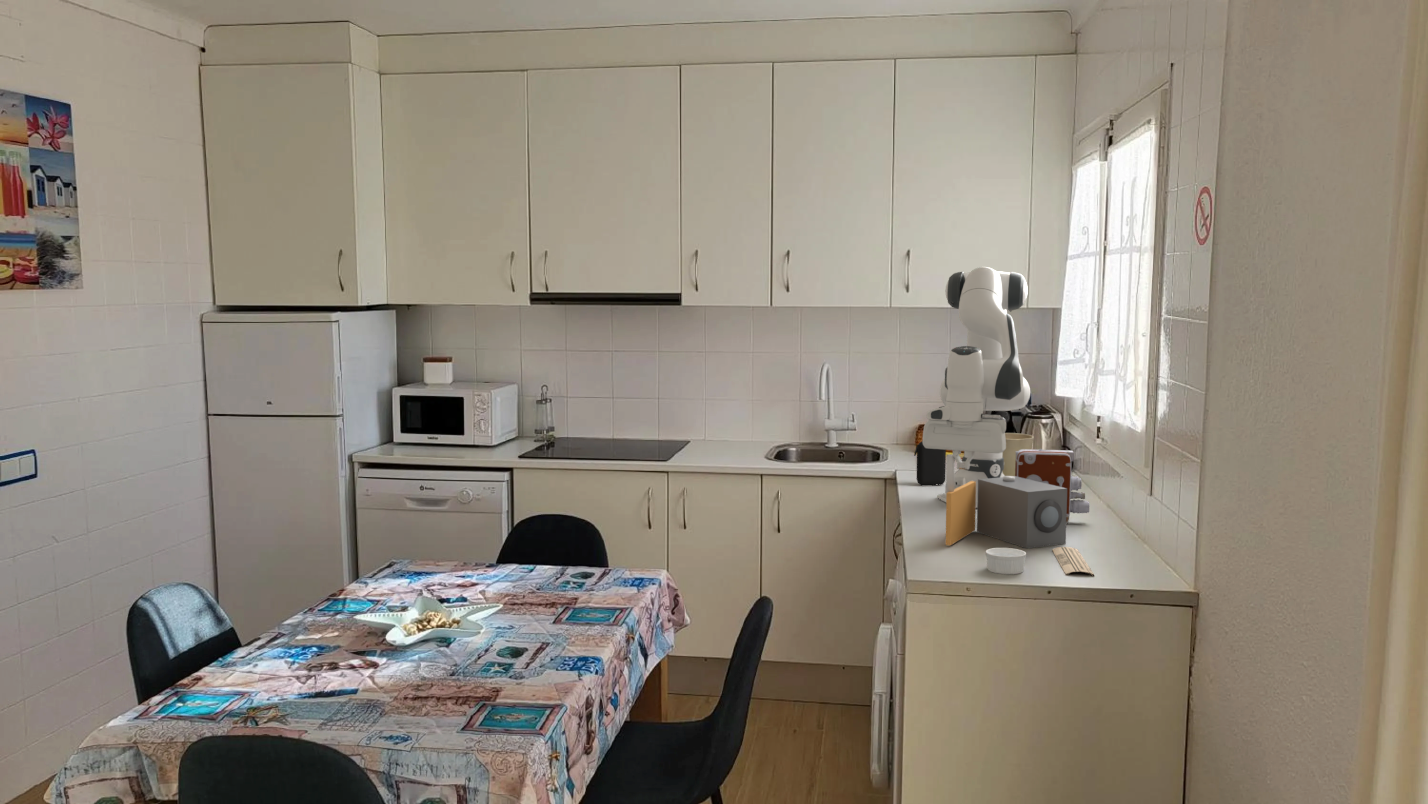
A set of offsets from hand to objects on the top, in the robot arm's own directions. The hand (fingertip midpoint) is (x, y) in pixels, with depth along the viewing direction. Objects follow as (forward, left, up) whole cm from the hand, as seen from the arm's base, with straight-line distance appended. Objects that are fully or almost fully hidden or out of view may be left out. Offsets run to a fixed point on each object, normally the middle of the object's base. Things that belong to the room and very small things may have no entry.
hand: (963, 468), depth 264 cm
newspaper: (+24, +13, -20) cm, 34 cm away
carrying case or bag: (-75, +41, -20) cm, 88 cm away
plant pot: (-68, +67, -20) cm, 97 cm away
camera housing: (-2, +19, -19) cm, 27 cm away
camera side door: (-7, +4, -19) cm, 20 cm away
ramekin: (+23, -5, -20) cm, 31 cm away
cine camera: (-14, +39, -20) cm, 46 cm away
